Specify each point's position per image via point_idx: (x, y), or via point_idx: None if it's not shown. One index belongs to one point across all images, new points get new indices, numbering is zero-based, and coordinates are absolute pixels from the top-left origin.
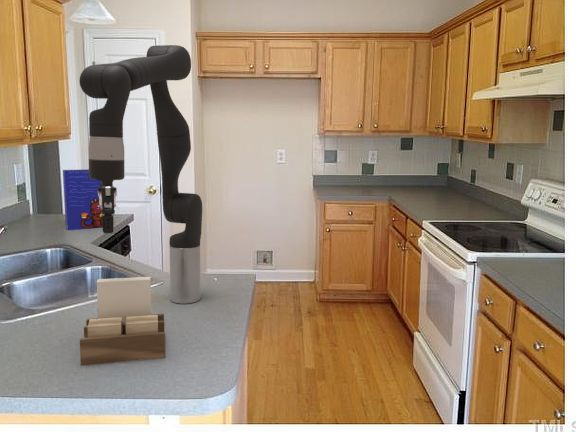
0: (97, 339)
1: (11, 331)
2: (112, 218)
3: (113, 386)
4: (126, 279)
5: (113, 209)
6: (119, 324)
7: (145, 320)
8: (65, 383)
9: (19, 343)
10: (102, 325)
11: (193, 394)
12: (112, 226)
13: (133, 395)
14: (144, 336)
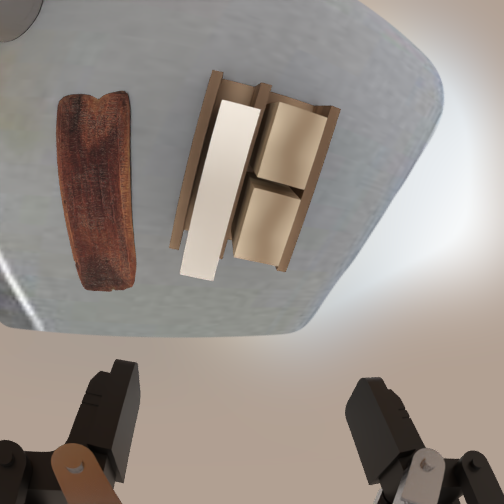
0: (296, 241)
1: (76, 326)
2: (408, 440)
3: (354, 209)
4: (221, 189)
5: (489, 471)
6: (299, 202)
7: (304, 141)
8: (306, 269)
9: (126, 320)
10: (286, 237)
11: (429, 117)
12: (390, 402)
13: (391, 190)
14: (326, 150)
